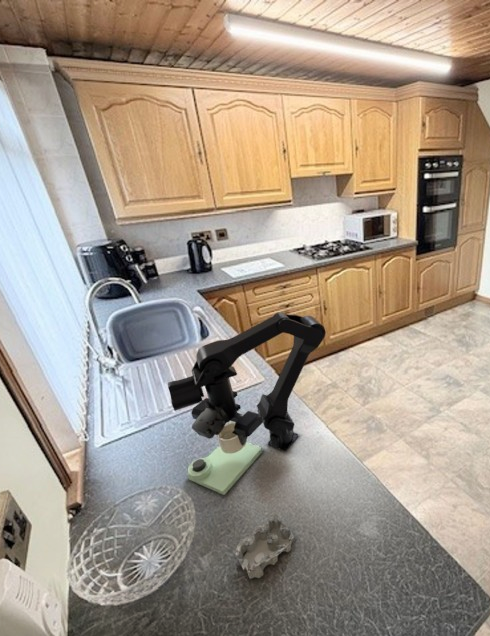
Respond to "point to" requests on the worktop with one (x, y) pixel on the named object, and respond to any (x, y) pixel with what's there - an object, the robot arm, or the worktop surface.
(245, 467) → the scale
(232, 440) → the cup
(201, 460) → the button
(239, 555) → the egg carton
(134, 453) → the worktop surface
